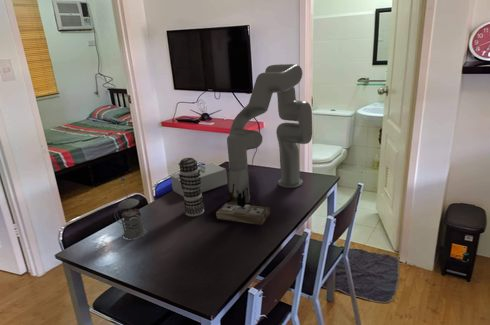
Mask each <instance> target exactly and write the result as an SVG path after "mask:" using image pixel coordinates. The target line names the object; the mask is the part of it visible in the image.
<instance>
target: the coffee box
mask: <svg viewBox="0 0 490 325" xmlns="http://www.w3.org/2000/svg"><path fill="white" fill-rule="evenodd" d="M229 171H230V169H229V166H227V169H226V174H227V183H228V184H227V188H228V197H229V203H235V204H237V198H236V197H234V191H233V192H232V193H230V189H229ZM250 199H251V194H250V185H249V186H248V187H247V188H246V195H245V200H246V204H249V203H250Z"/></svg>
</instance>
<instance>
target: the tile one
mask: <svg viewBox="0 0 490 325" xmlns="http://www.w3.org/2000/svg"><path fill="white" fill-rule="evenodd" d="M236 207H237V205H229V204H226V205H225V206H224V207H223V208H222V209H221V211H228V212H233V210H234V209H235V208H236Z"/></svg>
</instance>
